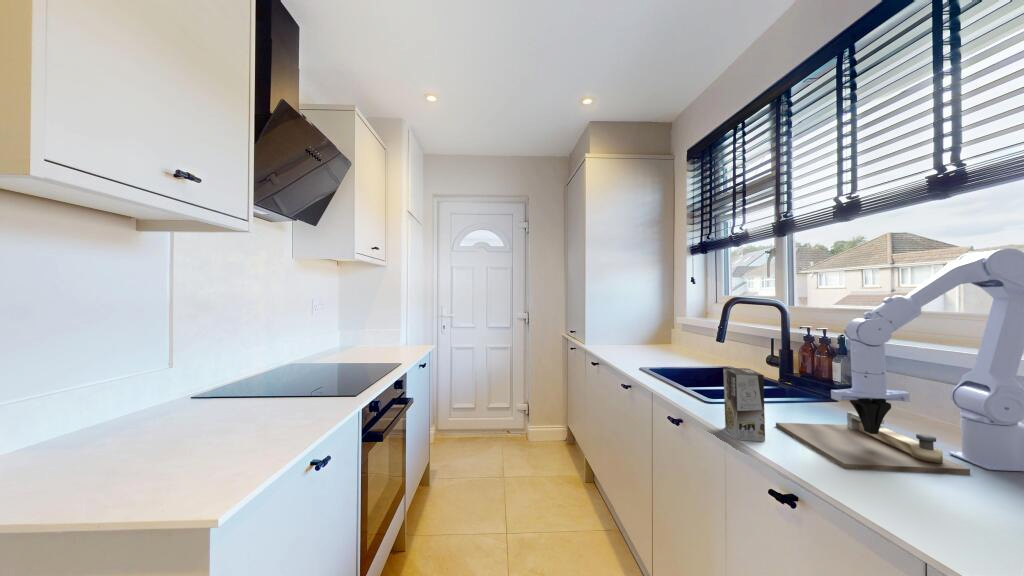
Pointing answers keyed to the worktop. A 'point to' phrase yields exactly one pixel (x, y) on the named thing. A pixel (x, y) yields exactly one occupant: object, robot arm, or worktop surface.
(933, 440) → the link
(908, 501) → the worktop surface
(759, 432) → the coffee box
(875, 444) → the base board
